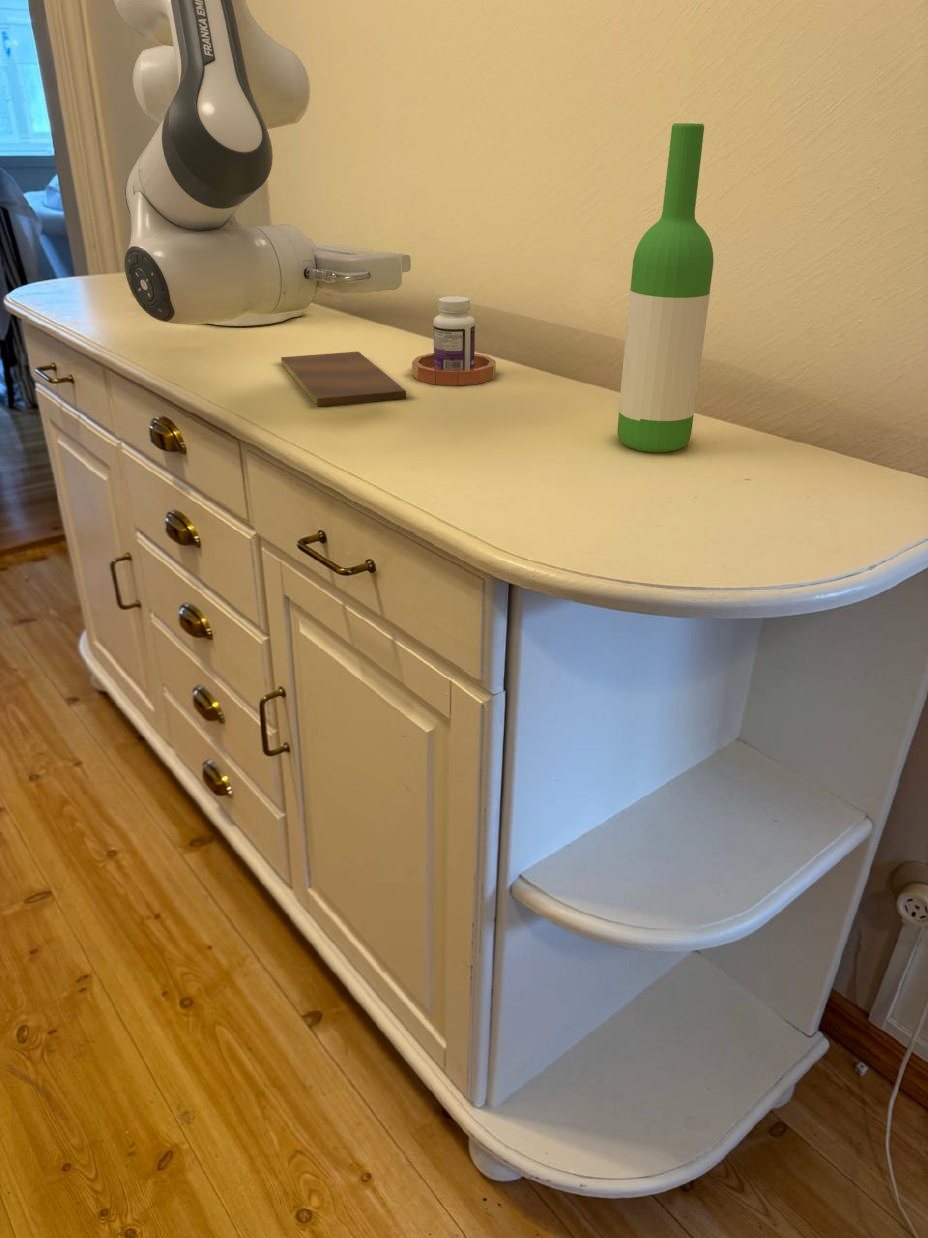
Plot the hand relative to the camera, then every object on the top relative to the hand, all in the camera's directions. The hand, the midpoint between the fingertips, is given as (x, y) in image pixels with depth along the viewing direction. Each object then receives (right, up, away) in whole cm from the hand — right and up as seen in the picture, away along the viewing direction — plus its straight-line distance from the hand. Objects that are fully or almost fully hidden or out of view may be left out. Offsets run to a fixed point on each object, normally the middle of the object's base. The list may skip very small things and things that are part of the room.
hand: (379, 257), depth 108 cm
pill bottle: (+8, -10, +15) cm, 20 cm away
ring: (+8, -10, +15) cm, 20 cm away
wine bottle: (+30, -24, -9) cm, 39 cm away
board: (-6, -11, +12) cm, 18 cm away
